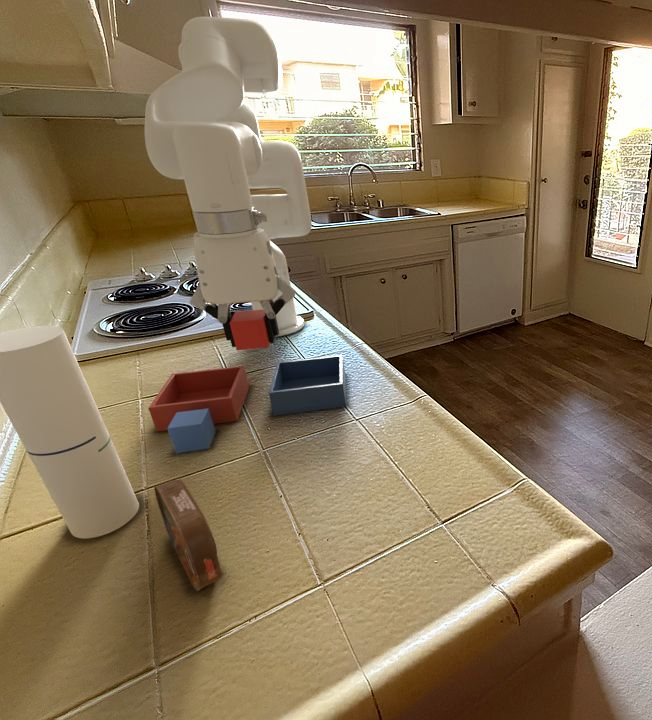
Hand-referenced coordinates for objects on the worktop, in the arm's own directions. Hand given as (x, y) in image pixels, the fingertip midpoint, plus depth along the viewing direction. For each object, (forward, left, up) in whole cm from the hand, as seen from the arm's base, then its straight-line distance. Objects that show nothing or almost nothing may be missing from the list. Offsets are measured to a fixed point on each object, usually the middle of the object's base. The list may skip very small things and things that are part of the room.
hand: (254, 340), depth 72 cm
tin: (+28, -5, -15) cm, 32 cm away
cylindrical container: (+18, -18, -15) cm, 30 cm away
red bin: (-8, -12, -15) cm, 21 cm away
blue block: (+3, -11, -15) cm, 19 cm away
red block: (0, 0, 0) cm, 0 cm away
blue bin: (-8, +6, -15) cm, 18 cm away
